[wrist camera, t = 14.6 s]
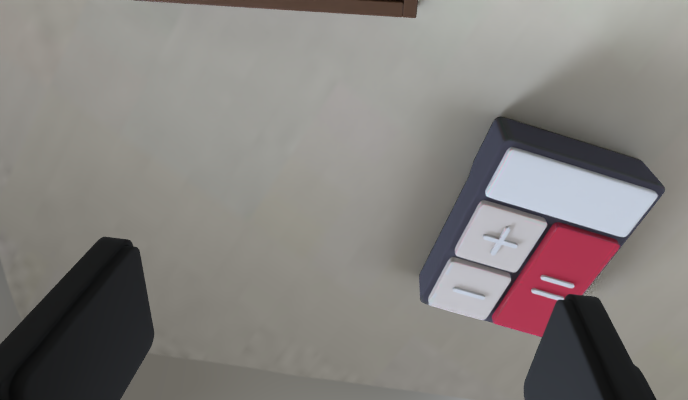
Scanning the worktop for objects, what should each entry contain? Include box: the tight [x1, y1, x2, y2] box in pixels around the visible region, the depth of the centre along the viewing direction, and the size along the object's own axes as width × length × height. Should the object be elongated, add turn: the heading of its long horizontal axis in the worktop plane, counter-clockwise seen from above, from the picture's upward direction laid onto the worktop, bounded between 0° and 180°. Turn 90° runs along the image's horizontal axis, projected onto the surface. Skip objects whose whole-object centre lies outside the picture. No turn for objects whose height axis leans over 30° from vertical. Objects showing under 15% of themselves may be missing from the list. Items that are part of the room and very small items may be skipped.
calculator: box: [419, 117, 665, 337], centre depth 35 cm, size 11×4×15 cm
